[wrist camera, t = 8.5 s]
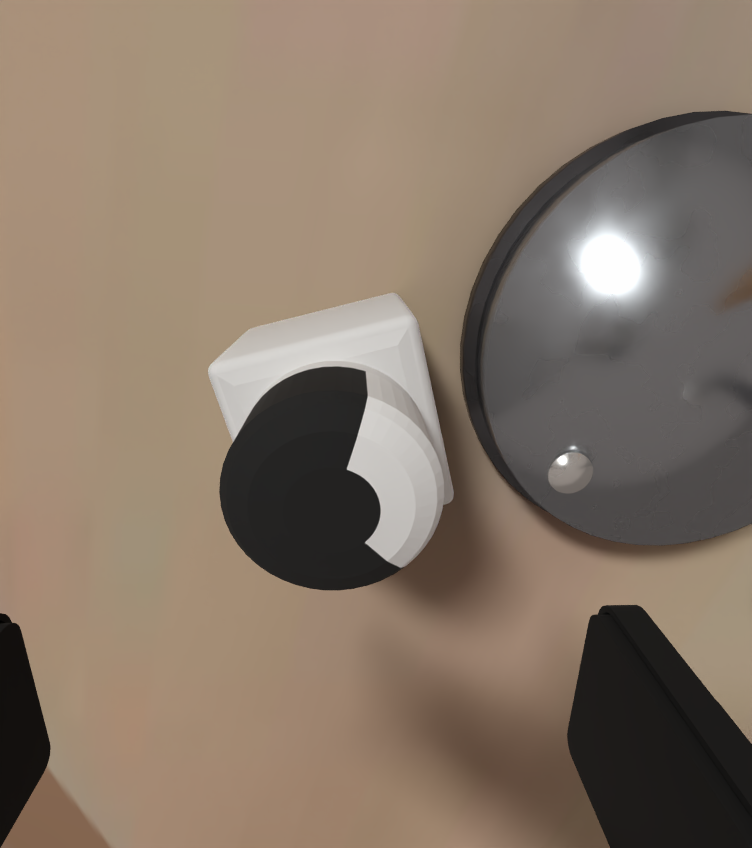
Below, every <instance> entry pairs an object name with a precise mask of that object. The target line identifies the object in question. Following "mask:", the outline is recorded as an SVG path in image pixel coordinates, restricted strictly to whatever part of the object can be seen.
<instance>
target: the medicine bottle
mask: <svg viewBox="0 0 752 848" xmlns="http://www.w3.org/2000/svg"><path fill="white" fill-rule="evenodd" d="M208 373H209V378H210V381H211V383H212V386H213V389H214V392H215V394H216V397H217V400H218V403H219V405H220V408H221V411H222V413H223V416H224V419H225V422H226V424H227V427H228V430H229V432H230V435H231V438H232V441H233V443H232V445H231V447H230V449H229V451H228V453H227V456H226V458H225V461H224V463H223V468H222V472H221V477H220V501H221V508H222V512H223V515H224V519H225V522H226V524H227V526H228V528H229V531H230V533H231V534H232V536H233V538H234V539H235V541H236V542H237V544H238V545H239V546H240V548H241V549H242V550H243V551H244V552H245V554H246V555H247V556H248V557H249V558H251V559H252V560H253V561H254V562H255V563H256V564H257V565H259V566H260V567H261V568H263V569H264V570H266V571H267V572H269V573H270V574H272V575H274V576H276V577H278V578H280V579H282V580H284V581H287V582H290V583H292V584H295V585H299V586H303V587H307V588H311V589H319V590H345V589H354V588H358V587H363V586H367V585H370V584H373V583H376V582H378V581H381V580H383V579H385V578H387V577H389V576H391V575H393V574H395V573H396V572H398V571H399V570H401V569H402V568H404V567H405V566H406V565H408V564H409V563H410V562H411V561H412V560H413V559H415V558H416V557H417V556H418V554H419V553H420V552H421V551H422V550H423V549H424V548H425V546H426V545H427V543H428V542H429V540H430V539H431V537H432V536H433V534H434V531H435V529H436V527H437V525H438V523H439V519H440V516H441V513H442V509H443V505H445V504H448V503H450V502H451V501H452V499H453V496H454V490H453V486H452V481H451V476H450V471H449V467H448V462H447V457H446V452H445V448H444V443H443V438H442V433H441V429H440V424H439V419H438V415H437V410H436V405H435V400H434V396H433V391H432V386H431V381H430V377H429V372H428V367H427V362H426V358H425V353H424V348H423V343H422V339H421V334H420V329H419V325H418V322H417V320H416V318H415V316H414V315H413V314H412V312H411V311H410V309H409V308H408V307H407V305H406V304H405V303H404V301H403V300H402V299H401V297H400V296H399V295H398V294H396V293H389V294H385V295H381V296H377V297H373V298H369V299H365V300H361V301H357V302H353V303H349V304H345V305H341V306H337V307H333V308H329V309H325V310H321V311H317V312H313V313H309V314H305V315H301V316H297V317H293V318H289V319H285V320H282V321H278V322H274V323H270V324H266V325H262V326H258V327H254V328H251V329H249V330H247V331H246V332H245V333H244V334H243V335H242V336H241V337H240V338H239V339H238V340H237V341H235V342H234V343H233V344H232V345H231V346H230V347H229V348H228V349H227V350H226V351H225V352H224V353H222V354H221V355H220V356H219V357H218V358H217V359H216V360H215V361H214V362H213V363H212V364H211V365H210V367H209V369H208Z"/></svg>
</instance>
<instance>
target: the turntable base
mask: <svg viewBox="0 0 752 848" xmlns="http://www.w3.org/2000/svg"><path fill="white" fill-rule="evenodd" d="M739 115H752V114H748V113H739V112H731V111H711V112H693V113H687V114H682V115H677V116H672V117H666V118H662V119H659V120H656V121H653V122H650V123H647V124H644V125H641V126H638V127H635V128H632V129H629V130H627V131H624V132H621V133H619V134H617V135H615V136H613V137H611V138H608V139H606V140H604V141H602V142H600V143H598V144H596V145H594V146H592V147H590V148H589V149H587V150H586V151H584V152H583V153H581V154H580V155H578V156H577V157H575V158H573V159H572V160H570V161H569V162H567V163H566V164H564V165H563V166H562V167H561V168H559V169H558V170H557V171H556V172H555V173H553V174H552V175H551V176H550V177H549V178H548V179H546V180H545V181H544V182H543V183H542V184H541V185H539V186H538V187H537V188H536V189H535V191H534V192H533V193H532V194H531V195H530V196H529V197H528V198H527V199H526V200H525V201H524V202H523V203H522V205H521V206H520V207H519V208H518V209H517V210H516V211H515V213H514V214H513V215H512V217H511V218H510V220H509V221H508V222H507V224H506V225H505V226H504V228H503V229H502V231H501V232H500V233H499V235H498V236H497V238H496V240H495V242H494V243H493V245H492V247H491V249H490V251H489V252H488V254H487V256H486V258H485V259H484V261H483V263H482V266H481V268H480V271H479V273H478V276H477V278H476V280H475V283H474V285H473V288H472V291H471V294H470V298H469V301H468V305H467V309H466V312H465V316H464V322H463V329H462V336H461V343H460V373H461V381H462V389H463V396H464V400H465V403H466V407H467V411H468V415H469V418H470V420H471V423H472V425H473V427H474V430H475V432H476V434H477V437H478V439H479V441H480V442H481V444H482V446H483V447H484V449H485V450H486V452H487V454H488V455H489V457H490V459H491V460H492V462H493V464H494V465H495V467H496V468H497V469H498V470H499V471H500V473H501V474H502V475H503V476H504V477H505V479H506V480H507V481H508V482H509V483H510V484H511V485H512V486H513V487H514V488H515V489H516V490H518V491H519V492H520V493H521V494H522V495H523V496H524V497H525V498H527V499H528V500H530V501H531V502H533V503H534V504H536V505H537V506H539V507H540V508H542V509H543V510H545V511H547V510H546V509H544V508H543V507H542V506H541V505H539V504H538V503H537V502H536V501H535V500H534V499H533V498H532V497H531V496H530V495H529V494H528V493H527V491H526V490H525V489H524V488H523V487H522V486H521V485H520V483H519V482H518V480H517V479H516V477H515V476H514V474H513V473H512V471H511V470H510V468H509V467H508V465H507V464H506V462H505V461H504V459H503V458H502V456H501V455H500V453H499V452H498V450H497V449H496V447H495V445H494V443H493V441H492V439H491V437H490V434H489V432H488V430H487V428H486V425H485V422H484V419H483V415H482V412H481V409H480V405H479V399H478V393H477V386H476V366H475V355H476V346H477V337H478V329H479V325H480V321H481V317H482V313H483V309H484V305H485V302H486V299H487V296H488V294H489V291H490V289H491V286H492V283H493V281H494V278H495V276H496V274H497V272H498V270H499V268H500V266H501V264H502V262H503V260H504V259H505V257H506V255H507V253H508V251H509V249H510V248H511V246H512V245H513V243H514V242H515V240H516V239H517V238H518V236H519V235H520V233H521V232H522V230H523V229H524V227H525V226H526V224H527V223H528V222H529V221H530V220H531V219H532V218H533V216H534V215H535V214H536V213H537V212H538V211H539V210H540V208H541V207H542V206H543V205H544V204H545V203H546V202H547V201H548V200H549V199H550V198H551V197H552V196H553V195H554V194H555V193H556V192H557V191H559V190H560V189H561V188H562V187H563V186H564V185H565V184H566V183H567V182H569V181H570V180H571V179H572V178H574V177H575V176H576V175H578V174H579V173H581V172H582V171H583V170H585V169H586V168H588V167H589V166H591V165H592V164H593V163H595V162H596V161H598V160H600V159H602V158H603V157H605V156H607V155H609V154H611V153H613V152H615V151H617V150H618V149H620V148H622V147H624V146H626V145H629V144H631V143H634V142H637V141H639V140H642V139H645V138H647V137H650V136H652V135H655V134H658V133H661V132H664V131H668V130H671V129H674V128H677V127H680V126H683V125H687V124H691V123H695V122H700V121H704V120H708V119H712V118H717V117H727V116H739ZM547 512H548V511H547Z"/></svg>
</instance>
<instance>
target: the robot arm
mask: <svg viewBox="0 0 752 848" xmlns="http://www.w3.org/2000/svg"><path fill="white" fill-rule="evenodd" d="M567 737H568V746H569V750H570V754H571V756H572V759H573V761H574V764H575V766H576V768H577V771H578V773H579V776H580V778H581V780H582V783H583V785H584V787H585V790H586V792H587V794H588V797H589V799H590V801H591V804H592V806H593V808H594V811H595V813H596V815H597V818H598V820H599V822H600V825H601V827H602V829H603V832H604V834H605V836H606V839H607V841H608V844H609V846H610V848H752V744H751V743H750V742H749V740H748V739H747V738H746V737H745V735H744V734H743V733H742V732H741V730H740V729H739V728H738V726H737V725H736V724H735V723H734V721H733V720H732V719H731V718H730V716H729V715H728V714H727V713H726V711H725V710H724V709H723V708H722V706H721V705H720V704H719V703H718V702H717V701H716V700H715V699H714V697H713V696H712V695H711V693H710V692H709V691H708V690H707V688H706V687H705V686H704V685H703V683H702V682H701V681H700V680H699V678H698V677H697V676H696V675H695V673H694V672H693V671H692V669H691V668H690V667H689V666H688V664H687V663H686V662H685V661H684V659H683V658H682V657H681V656H680V654H679V653H678V652H677V651H676V649H675V648H674V647H673V645H672V644H671V643H670V642H669V640H668V639H667V638H666V637H665V635H664V634H663V633H662V632H661V630H660V629H659V628H658V627H657V625H656V624H655V623H654V622H653V620H652V619H651V618H650V616H649V615H648V614H647V613H646V611H645V610H644V609H643V608H642V607H640V606H638V605H606V606H602V607H601V609H600V610H599V613H598V615H592V616H591V617H590V620H589V624H588V629H587V634H586V639H585V644H584V650H583V655H582V660H581V665H580V670H579V675H578V680H577V685H576V691H575V696H574V701H573V706H572V711H571V716H570V721H569V727H568V733H567ZM49 756H50V742H49V738H48V734H47V730H46V726H45V722H44V718H43V714H42V711H41V707H40V703H39V699H38V695H37V691H36V687H35V683H34V679H33V675H32V672H31V668H30V664H29V660H28V656H27V652H26V648H25V644H24V640H23V637H22V633H21V629H20V627H19V625H17V624H16V623H12V622H11V620H10V618H9V617H8V616H7V615H6V614H1V613H0V847H1V846H2V844H3V842H4V840H5V839H6V837H7V835H8V834H9V832H10V830H11V829H12V827H13V825H14V823H15V822H16V820H17V818H18V816H19V815H20V813H21V811H22V809H23V808H24V806H25V804H26V802H27V801H28V799H29V797H30V796H31V794H32V792H33V790H34V788H35V787H36V785H37V783H38V782H39V780H40V778H41V776H42V775H43V773H44V771H45V769H46V767H47V764H48V761H49Z"/></svg>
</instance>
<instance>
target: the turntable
mask: <svg viewBox="0 0 752 848" xmlns="http://www.w3.org/2000/svg"><path fill="white" fill-rule="evenodd" d="M475 366H476V386H477V393H478V399H479V405H480V409H481V412H482V415H483V419H484V422H485V425H486V428H487V430H488V432H489V434H490V437H491V439H492V441H493V443H494V445H495V447H496V449H497V450H498V452H499V453H500V455H501V456H502V458H503V459H504V461H505V462H506V464H507V465H508V467H509V468H510V470H511V471H512V473H513V474H514V476H515V477H516V479H517V480H518V482H519V483H520V485H521V486H522V487H523V488H524V489H525V490H526V491H527V493H528V494H529V495H530V496H531V497H532V498H533V499H534V500H535V501H536V502H537V503H538V504H539V505H541V506H542V507H543V508H544V509H546V510H547V511H548V512H549V513H550V514H552V515H553V516H555V517H556V518H558V519H560V520H561V521H563V522H565V523H566V524H568V525H570V526H571V527H573V528H576V529H578V530H581V531H583V532H585V533H588V534H590V535H592V536H596V537H600V538H603V539H607V540H611V541H614V542H621V543H628V544H635V545H671V544H682V543H689V542H694V541H699V540H704V539H709V538H713V537H716V536H719V535H722V534H725V533H729V532H732V531H735V530H737V529H740V528H742V527H744V526H747V525H749V524H751V523H752V115H739V116H727V117H717V118H712V119H708V120H704V121H700V122H695V123H691V124H687V125H683V126H680V127H677V128H674V129H671V130H668V131H664V132H661V133H658V134H655V135H652V136H650V137H647V138H645V139H642V140H639V141H637V142H634V143H631V144H629V145H626V146H624V147H622V148H620V149H618V150H617V151H615V152H613V153H611V154H609V155H607V156H605V157H603V158H602V159H600V160H598V161H596V162H595V163H593V164H592V165H591V166H589V167H588V168H586V169H585V170H583V171H582V172H581V173H579V174H578V175H576V176H575V177H574V178H572V179H571V180H570V181H569V182H567V183H566V184H565V185H564V186H563V187H562V188H561V189H560V190H559V191H557V192H556V193H555V194H554V195H553V196H552V197H551V198H550V199H549V200H548V201H547V202H546V203H545V204H544V205H543V206H542V207H541V208H540V210H539V211H538V212H537V213H536V214H535V215H534V216H533V218H532V219H531V220H530V221H529V222H528V223H527V224H526V226H525V227H524V229H523V230H522V232H521V233H520V235H519V236H518V238H517V239H516V240H515V242H514V243H513V245H512V246H511V248H510V249H509V251H508V253H507V255H506V257H505V259H504V260H503V262H502V264H501V266H500V268H499V270H498V272H497V274H496V276H495V278H494V281H493V283H492V286H491V289H490V291H489V294H488V296H487V299H486V302H485V305H484V309H483V313H482V317H481V321H480V325H479V329H478V337H477V346H476V355H475Z"/></svg>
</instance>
